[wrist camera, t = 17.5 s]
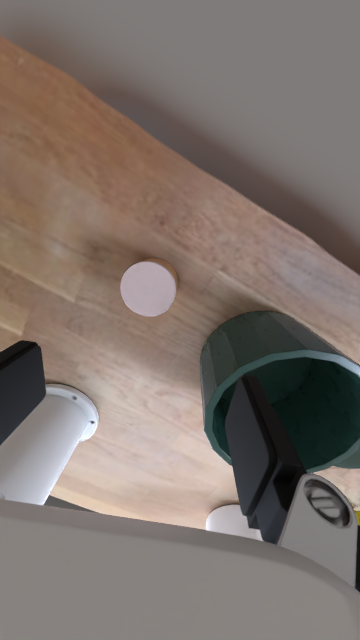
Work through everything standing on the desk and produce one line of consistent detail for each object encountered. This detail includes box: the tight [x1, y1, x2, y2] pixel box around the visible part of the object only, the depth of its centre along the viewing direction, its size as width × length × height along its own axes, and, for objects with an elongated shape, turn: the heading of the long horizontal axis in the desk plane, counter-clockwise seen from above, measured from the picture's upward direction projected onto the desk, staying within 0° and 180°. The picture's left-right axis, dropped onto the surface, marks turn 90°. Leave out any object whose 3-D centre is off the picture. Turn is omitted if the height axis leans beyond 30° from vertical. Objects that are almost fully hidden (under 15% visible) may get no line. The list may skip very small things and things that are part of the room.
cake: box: [120, 258, 178, 317], centre depth 24 cm, size 6×6×5 cm
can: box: [206, 505, 263, 541], centre depth 35 cm, size 12×12×20 cm
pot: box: [200, 311, 360, 473], centre depth 25 cm, size 17×17×11 cm
